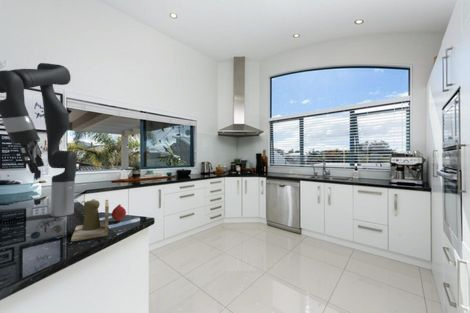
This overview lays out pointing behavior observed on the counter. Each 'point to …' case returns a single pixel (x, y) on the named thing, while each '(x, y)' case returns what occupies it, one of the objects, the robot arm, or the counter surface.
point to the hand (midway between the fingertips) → (38, 169)
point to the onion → (118, 213)
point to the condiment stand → (99, 232)
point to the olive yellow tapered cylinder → (91, 215)
